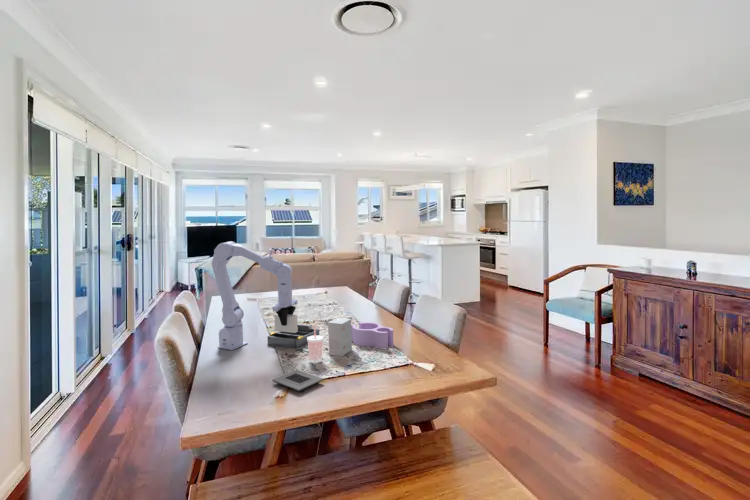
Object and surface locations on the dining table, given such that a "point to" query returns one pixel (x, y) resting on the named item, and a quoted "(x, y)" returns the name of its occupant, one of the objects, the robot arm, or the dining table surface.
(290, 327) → the block
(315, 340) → the beverage cup
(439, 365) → the dining table surface
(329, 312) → the dining table surface
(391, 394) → the dining table surface
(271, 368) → the dining table surface
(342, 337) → the small box
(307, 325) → the rack
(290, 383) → the grey picture frame
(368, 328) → the clip
